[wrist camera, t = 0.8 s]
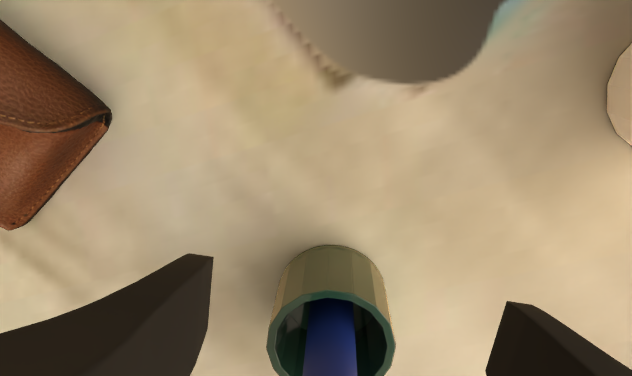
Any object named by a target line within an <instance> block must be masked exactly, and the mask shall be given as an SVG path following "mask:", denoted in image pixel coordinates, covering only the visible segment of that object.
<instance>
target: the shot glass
mask: <svg viewBox="0 0 632 376" xmlns="http://www.w3.org/2000/svg"><path fill="white" fill-rule="evenodd" d="M607 113H608V115H609V117H610V120H611V122H612V124H613V127H614V129H615V131H616V133H617V134H618V135H619V136H620V137H621V138H623V139H624V140H625V141H626V142H628V143H629V144H630V145H631V146H632V44H631V45H630V46H629V47H628V48H627V49H626V50H625V51H624V52H623V54H622V55H621V56H620V57H619V59H618V61H617V63H616V66H615V68H614V70H613V73H612V75H611V77H610V80H609V82H608V84H607Z"/></svg>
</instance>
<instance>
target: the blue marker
mask: <svg viewBox="0 0 632 376" xmlns="http://www.w3.org/2000/svg"><path fill="white" fill-rule="evenodd" d="M303 376H357V361H356V344H355V327H354V310H353V302H351V301H347V300H341V299H334V298H323V299H319V300H314V301H310V308H309V318H308V327H307V337H306V347H305V356H304V366H303Z"/></svg>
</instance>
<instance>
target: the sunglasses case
mask: <svg viewBox="0 0 632 376" xmlns="http://www.w3.org/2000/svg"><path fill="white" fill-rule="evenodd" d="M111 120H112V113H111V110H110V109H109V108H108V107H107V106H106V105H105V104H104V103H103V102H102V101H101V100H100V99H99V98H98V97H97V96H95V95H94V94H93V93H92V92H91V91H90V90H89V89H87V88H86V87H85V86H83V85H82V84H81V83H80V82H78V81H77V80H76V79H75V78H73V77H72V76H71V75H70V74H69V73H67V72H66V71H65V70H63V69H62V68H61V67H60V66H58V65H57V64H56V63H54V62H53V61H52V60H50V59H49V58H48V57H46V56H45V55H43V54H42V53H41V52H40V51H38V50H37V49H36V48H34V47H33V46H32V45H30V44H29V43H28V42H27V41H25V40H24V39H23V38H22V37H20V36H19V35H18V34H17V33H16V32H14V31H13V30H12V29H11V28H10V27H8V26H7V25H6V24H5V23H3V22H2V21H1V20H0V227H2V228H4V229H6V230H13V229H15V228H19V227H21V226H24V225H25V224H27V223H28V222H29V221H30V220H31V219H32V218H33V217H34V216H35V215H36V214H37V213H38V211H39V210H40V209H41V208H42V207H43V206H44V205H45V204H46V203H47V201H48V200H49V199H50V198H51V197H52V196H53V195H54V193H55V192H56V191H57V190H58V189H59V187H60V186H61V185H62V184H63V182H64V181H65V180H66V179H67V178H68V177H69V176H70V174H71V173H72V172H73V171H74V170H75V169H76V167H77V166H78V165H79V164H80V163H81V162H82V161H83V159H84V158H85V157H86V156H87V155H88V154H89V153H90V151H91V150H92V149H93V147H94V146H95V145H96V144H97V143H98V141H99V140H100V139H101V138H102V137H103V135H104V134H105V133H106V132H107V130H108V128H109V125H110V123H111Z"/></svg>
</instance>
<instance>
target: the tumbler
mask: <svg viewBox="0 0 632 376" xmlns="http://www.w3.org/2000/svg"><path fill="white" fill-rule="evenodd" d="M323 298H334V299H341V300H347V301H351V302H353V310H354V327H355V344H356V361H357V376H384V375H385V374H386V373H387V371H388V370H389V369H390V367H391V365H392V361H393V357H394V352H395V348H396V343H395V337H394V332H393V327H392V321H391V316H390V311H389V305H388V300H387V295H386V291H385V287H384V282H383V278H382V276H381V274H380V272H379V270H378V269H377V267H376V266H375V265H374V263H373V262H372V261H371V260H370V259H368V258H367V257H366V256H365V255H363V254H362V253H360V252H358V251H356V250H354V249H351V248H348V247H344V246H338V245H324V246H318V247H315V248H311V249H309V250H307V251H305V252H303V253H301V254H300V255H298V256H297V257H296V258H294V259H293V260H292V261H291V262H290V264H289V265H288V266H287V268H286V269H285V271H284V273H283V275H282V278H281V279H280V282H279V286H278V291H277V295H276V299H275V303H274V308H273V312H272V316H271V320H270V325H269V330H268V338H267V346H266V348H267V352H268V355H269V358H270V361H271V364H272V367H273V369H274V370H275V371H276V372H277V374H278V375H279V376H303V366H304V356H305V347H306V337H307V327H308V318H309V308H310V301H314V300H319V299H323Z"/></svg>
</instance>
